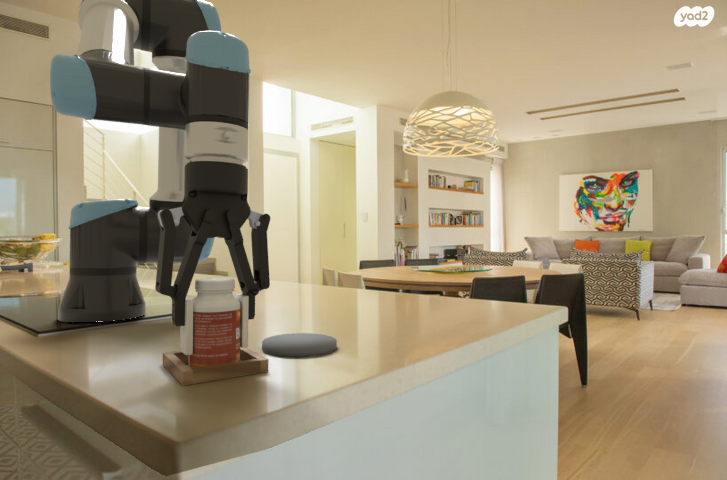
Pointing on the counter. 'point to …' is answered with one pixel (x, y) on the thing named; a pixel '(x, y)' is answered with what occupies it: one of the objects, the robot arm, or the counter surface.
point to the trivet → (299, 345)
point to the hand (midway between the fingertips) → (214, 348)
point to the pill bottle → (215, 323)
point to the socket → (213, 367)
